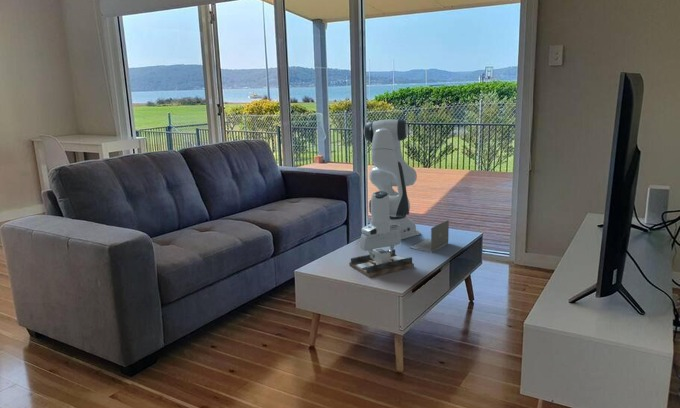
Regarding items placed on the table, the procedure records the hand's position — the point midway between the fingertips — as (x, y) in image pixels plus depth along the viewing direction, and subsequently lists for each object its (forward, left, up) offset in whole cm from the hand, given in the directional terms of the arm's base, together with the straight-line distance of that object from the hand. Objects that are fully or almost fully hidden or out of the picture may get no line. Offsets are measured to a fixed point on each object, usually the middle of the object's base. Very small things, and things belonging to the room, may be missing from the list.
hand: (381, 256), depth 230 cm
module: (0, 0, -3) cm, 3 cm away
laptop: (-37, -12, -5) cm, 39 cm away
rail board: (0, 0, -5) cm, 5 cm away
